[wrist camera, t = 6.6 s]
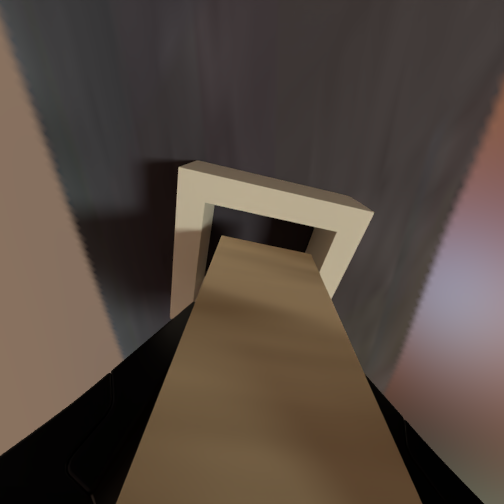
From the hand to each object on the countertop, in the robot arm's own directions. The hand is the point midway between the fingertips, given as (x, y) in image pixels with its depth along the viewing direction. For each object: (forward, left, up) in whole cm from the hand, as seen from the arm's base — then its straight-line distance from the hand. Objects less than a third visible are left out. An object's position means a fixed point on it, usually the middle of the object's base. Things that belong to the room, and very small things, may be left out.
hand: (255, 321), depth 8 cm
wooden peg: (0, 0, -2) cm, 2 cm away
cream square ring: (0, 0, -6) cm, 6 cm away
